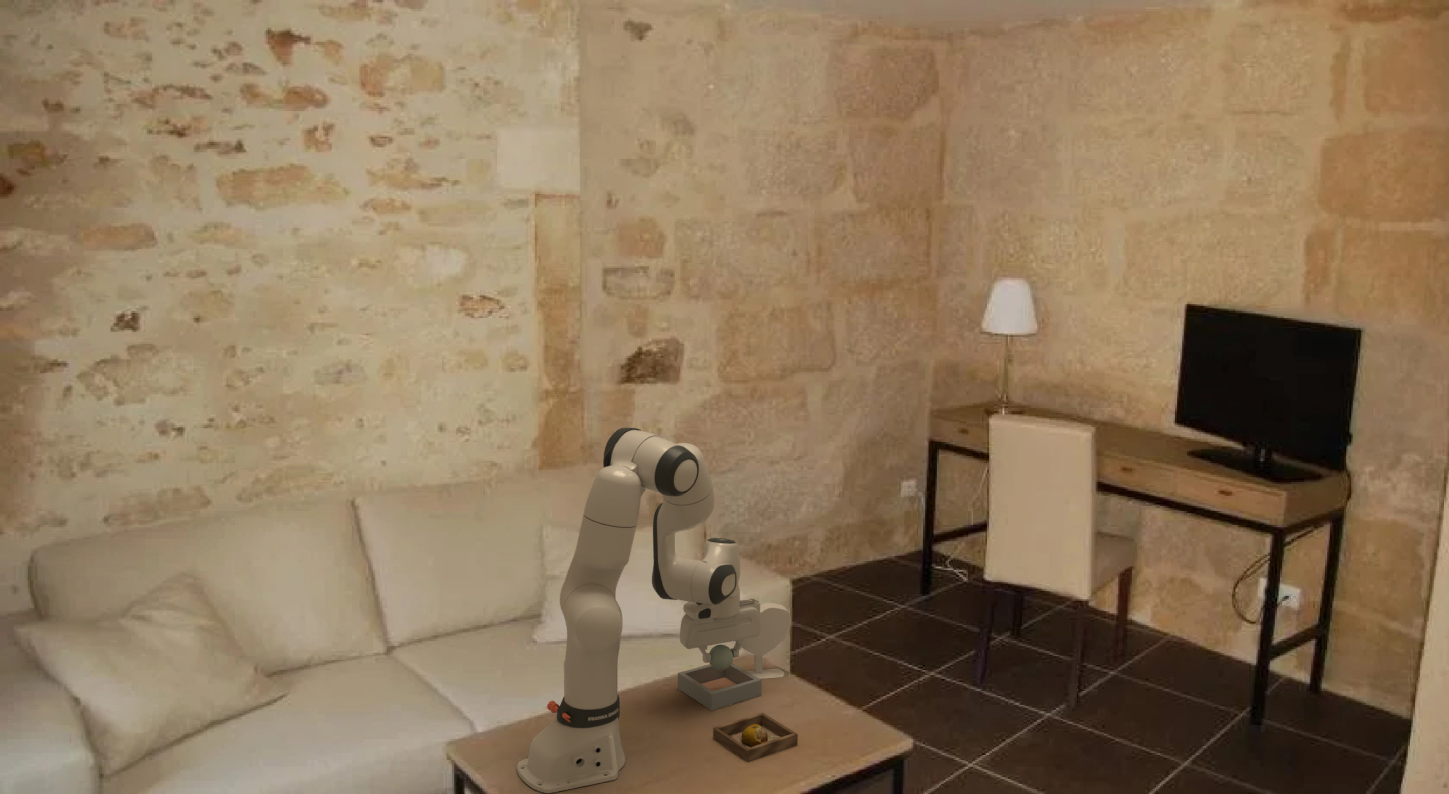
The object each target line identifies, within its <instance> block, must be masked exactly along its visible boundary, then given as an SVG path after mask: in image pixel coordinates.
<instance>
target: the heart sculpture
mask: <svg viewBox="0 0 1449 794" xmlns="http://www.w3.org/2000/svg"><path fill="white" fill-rule="evenodd" d="M759 615H760V622H761V633H760V634H759V636H758V637H753V638H747V639H744V641H743V645H742V647H741V648H742V649H743V650H745V651H747V652H749V654H752V655H754V657H753V662H754V663H753V670H746V671H747V672H748V673H750V674H752V675H754V676H755V677H757V678H759V679H761V680H762V679H772V678H773V679H775V678H776V679H777V678H783V677H784V676H785V672H784V671H782V669H779V668H772V669H770V668H769V669H763V657H764V656H765V655H766V654H768V653H770V652H771V651H772V650H774V649H776V648H777V647H778V646H779V645H780V644H781V643H782V642H783V641H784V640H785V639H786V637H787V635H788V634H789V632H790V630H791V624H792V617H791V612H790V611H789V610H788V609H787V608H786V607H785V606H784V605H782V604H779V603H773V602H765V603H763V604H760V613H759Z"/></svg>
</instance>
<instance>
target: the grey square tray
mask: <svg viewBox="0 0 1449 794" xmlns="http://www.w3.org/2000/svg"><path fill="white" fill-rule="evenodd" d="M747 671H748V670H745V669H743V668H742V667H740V666H738V665H736V664H735V663H734V662H732V664H731V666H730V667H729V668H727V669H725V670H716V669H714V668H713V667H712V666H711V665H710V663H709V664H705V665H702V666H699V667H695V668H691V669H688V670H684V671H680V672H677V689H678V690H679V691H681V692H683V693H684V694H685V695H686V696H689V697H690V698H692V699H693V700H695V701H696V702H698V703H699V704H701V705H702V704H703V706H704V707H706V708H707V709H709V710H711V711H715V710H718V709H721V707H722V708H725V707H727V706H728V705H729V706H731V705H730V704H732V705H735V704H737V703H738V702H739V703H741V702H740V701H742V702H745V701H748V700H747V699H749V700H751V699H755V698H758V697H757V696H759V697H761V696H762V679H759V678H757V677H755V676H754V675H752V674H750V673H748V672H747ZM734 703H735V704H734ZM739 703H738V704H739ZM729 706H728V707H729Z"/></svg>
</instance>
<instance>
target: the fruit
mask: <svg viewBox="0 0 1449 794" xmlns="http://www.w3.org/2000/svg"><path fill="white" fill-rule="evenodd" d="M740 737H741V740H742V742H743V745H746V746H749V747H750V748H751V747H754V746H757V745H760V744H763V743H766V742H769V741H772V740H775V739H778V738H781V737H780V736H778V735H768V732H767V730H766V729H765V728H763V726H762V725H759V724H753V725H750V726H748V727H746V728H745V729H744V731H742V733H741V736H740ZM774 738H775V739H774Z"/></svg>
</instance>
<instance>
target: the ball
mask: <svg viewBox="0 0 1449 794" xmlns="http://www.w3.org/2000/svg"><path fill="white" fill-rule="evenodd" d="M731 649H732V648H730V647H729V646H727V645H726V644H715V646H714V645H713V647H712V648H711V649H710V651H709V652H708V653H709V654H710V655H711V662H708V663H709V664H710V665H711V666H712V667H713V668H714V669H716V670H725V669H727V668H729V667H730V666H731V664H732V663H734V658H733V653H732V651H731Z"/></svg>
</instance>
